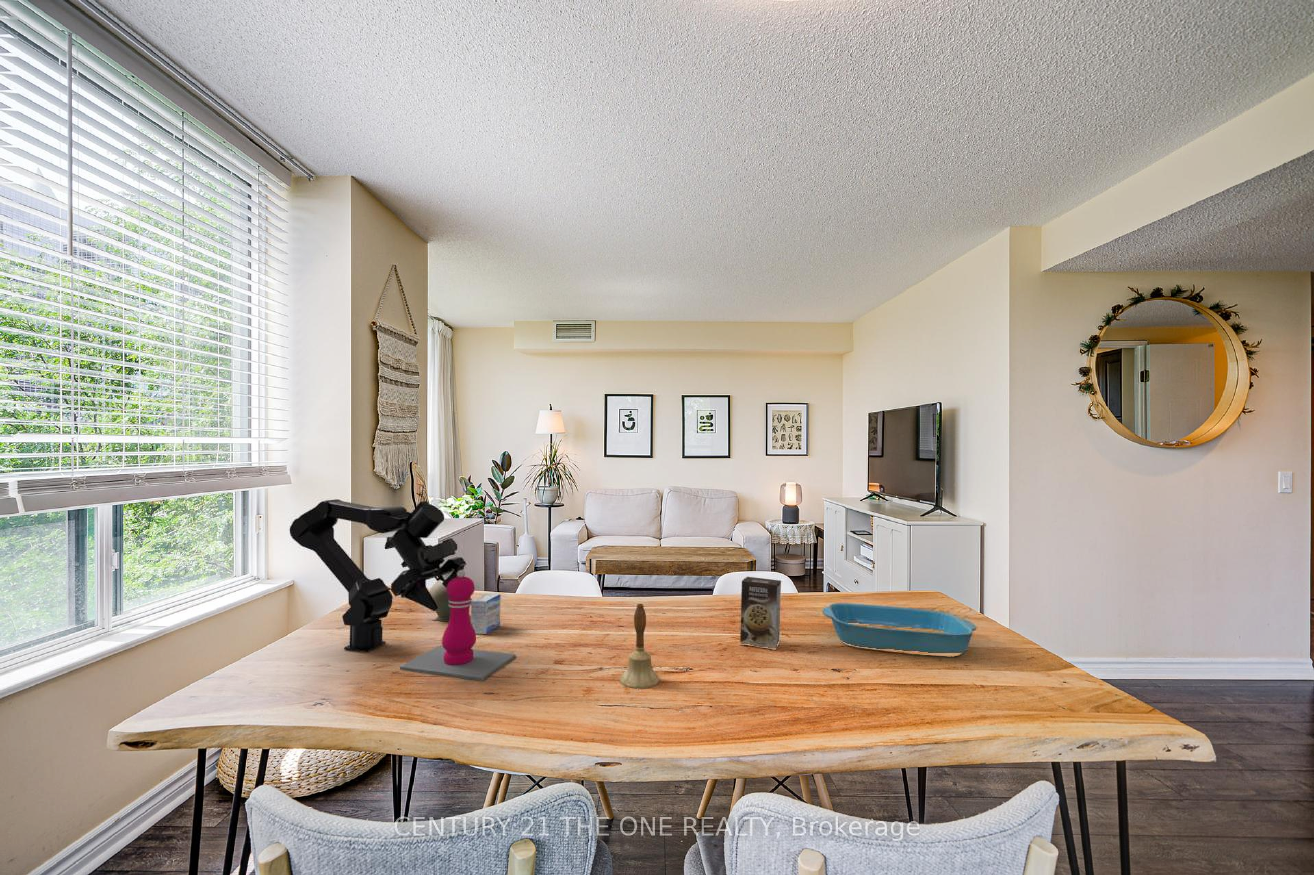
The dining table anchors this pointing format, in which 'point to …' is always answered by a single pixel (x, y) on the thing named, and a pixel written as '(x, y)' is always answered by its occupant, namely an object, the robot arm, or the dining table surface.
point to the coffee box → (760, 612)
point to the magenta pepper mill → (459, 622)
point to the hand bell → (639, 658)
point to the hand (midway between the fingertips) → (450, 604)
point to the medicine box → (485, 613)
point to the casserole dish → (900, 617)
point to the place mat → (474, 670)
